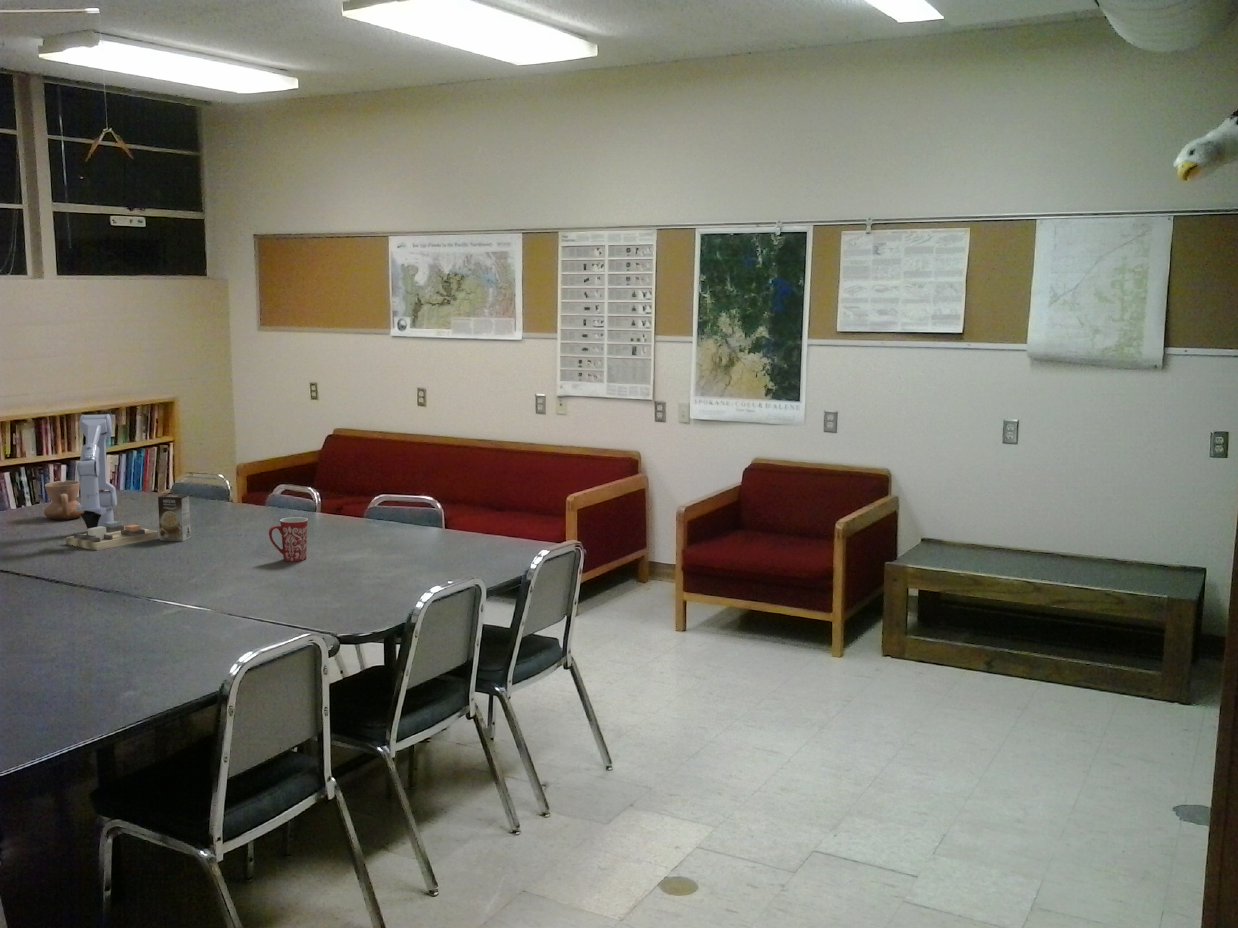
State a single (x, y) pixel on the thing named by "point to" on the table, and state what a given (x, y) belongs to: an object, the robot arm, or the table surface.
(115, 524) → the grey button
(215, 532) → the table surface
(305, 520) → the mug
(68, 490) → the ceramic jug
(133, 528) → the terracotta button
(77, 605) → the table surface
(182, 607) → the table surface
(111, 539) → the control panel
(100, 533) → the slider knob
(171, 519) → the coffee box
